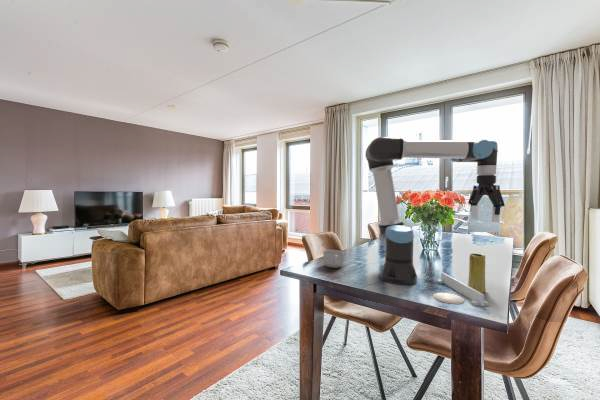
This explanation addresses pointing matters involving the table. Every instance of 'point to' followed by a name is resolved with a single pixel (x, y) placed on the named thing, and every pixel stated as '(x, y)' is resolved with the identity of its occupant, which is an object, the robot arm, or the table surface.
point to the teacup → (333, 258)
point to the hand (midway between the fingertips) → (484, 220)
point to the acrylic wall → (464, 290)
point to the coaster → (448, 298)
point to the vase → (477, 272)
